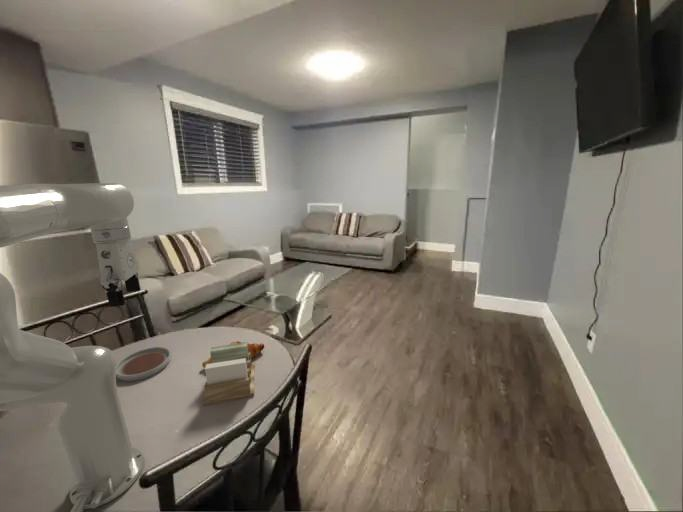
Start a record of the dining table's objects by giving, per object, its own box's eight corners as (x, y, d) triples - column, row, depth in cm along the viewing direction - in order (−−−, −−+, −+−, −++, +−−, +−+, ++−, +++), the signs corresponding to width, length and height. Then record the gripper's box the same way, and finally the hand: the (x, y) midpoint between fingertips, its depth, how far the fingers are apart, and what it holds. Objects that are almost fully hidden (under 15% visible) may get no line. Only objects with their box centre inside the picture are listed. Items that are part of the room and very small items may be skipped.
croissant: (205, 383, 96) (203, 371, 91) (200, 357, 102) (198, 345, 97) (267, 361, 106) (268, 349, 101) (259, 339, 112) (260, 327, 107)
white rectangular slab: (248, 389, 86) (245, 362, 84) (209, 396, 83) (204, 368, 81) (248, 384, 88) (245, 358, 86) (210, 391, 86) (206, 364, 83)
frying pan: (69, 372, 93) (167, 340, 110) (72, 379, 94) (168, 346, 111) (64, 402, 81) (175, 361, 97) (67, 410, 81) (177, 368, 98)
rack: (254, 395, 85) (250, 365, 82) (203, 405, 82) (198, 374, 79) (254, 364, 99) (252, 338, 96) (211, 372, 95) (207, 344, 93)
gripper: (112, 240, 64) (128, 310, 69) (142, 228, 80) (153, 285, 85) (72, 243, 62) (91, 314, 67) (111, 229, 78) (124, 287, 83)
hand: (126, 297), depth 76 cm, fingers open, 9 cm apart
